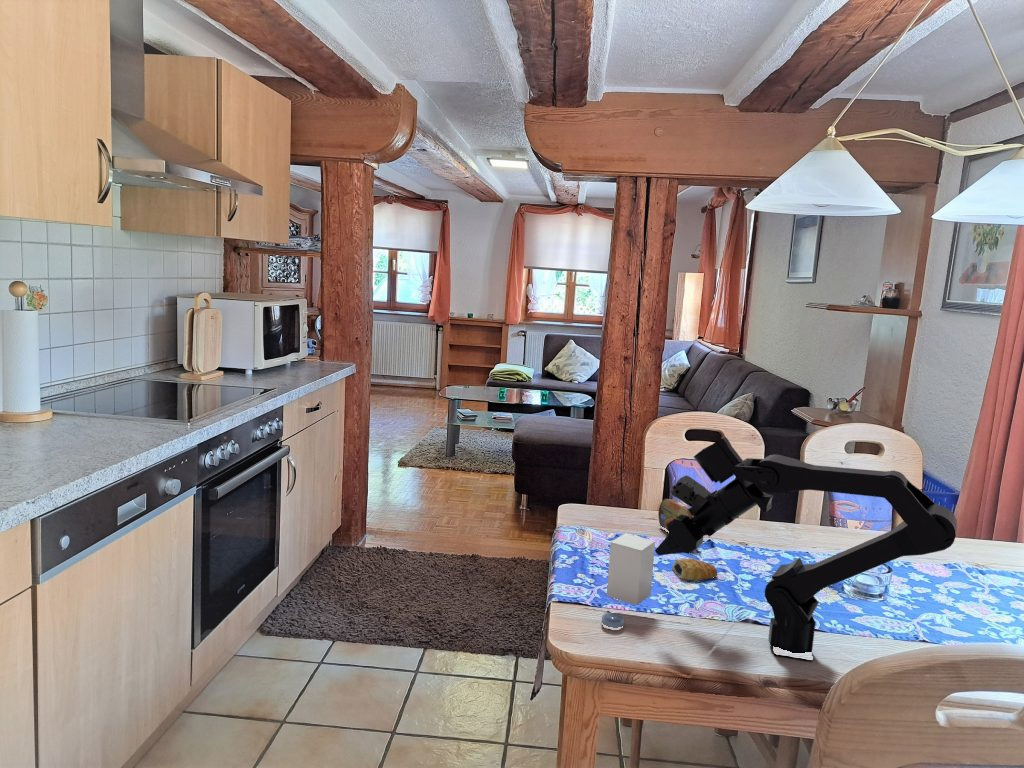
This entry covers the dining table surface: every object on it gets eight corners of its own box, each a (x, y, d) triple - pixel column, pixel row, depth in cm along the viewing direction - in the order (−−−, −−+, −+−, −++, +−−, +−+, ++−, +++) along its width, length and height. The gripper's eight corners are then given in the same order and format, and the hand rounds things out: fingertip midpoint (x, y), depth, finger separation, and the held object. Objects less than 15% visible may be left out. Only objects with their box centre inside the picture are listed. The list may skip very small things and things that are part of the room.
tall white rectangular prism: (650, 596, 144) (655, 541, 142) (636, 607, 138) (641, 550, 137) (620, 586, 147) (625, 533, 146) (606, 597, 142) (610, 542, 140)
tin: (656, 525, 187) (658, 494, 186) (667, 525, 188) (669, 493, 187) (686, 547, 173) (689, 513, 172) (698, 546, 174) (701, 512, 173)
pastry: (707, 569, 160) (709, 553, 160) (723, 582, 154) (725, 565, 153) (669, 571, 158) (670, 554, 158) (682, 584, 152) (684, 567, 151)
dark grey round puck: (624, 624, 132) (624, 614, 132) (622, 634, 129) (623, 624, 128) (602, 620, 133) (603, 611, 133) (600, 630, 129) (600, 620, 129)
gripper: (718, 457, 140) (659, 499, 147) (683, 476, 124) (619, 522, 132) (755, 505, 136) (693, 545, 144) (723, 531, 121) (656, 575, 129)
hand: (666, 545), depth 137 cm, fingers open, 9 cm apart
